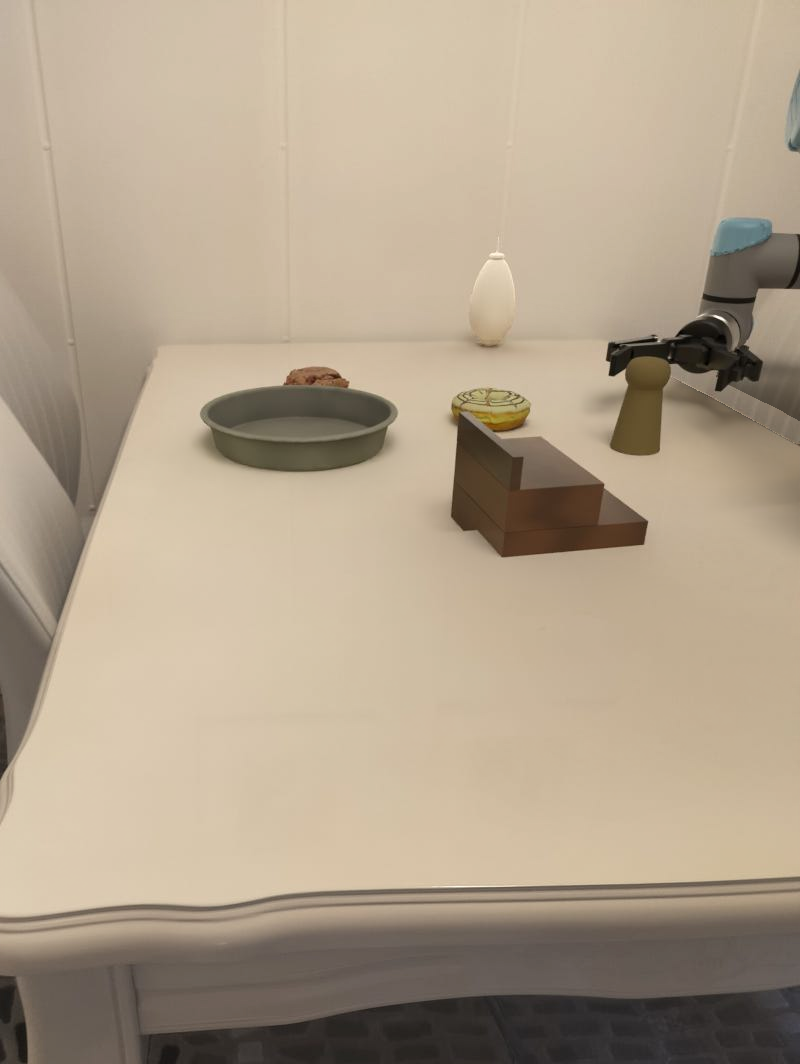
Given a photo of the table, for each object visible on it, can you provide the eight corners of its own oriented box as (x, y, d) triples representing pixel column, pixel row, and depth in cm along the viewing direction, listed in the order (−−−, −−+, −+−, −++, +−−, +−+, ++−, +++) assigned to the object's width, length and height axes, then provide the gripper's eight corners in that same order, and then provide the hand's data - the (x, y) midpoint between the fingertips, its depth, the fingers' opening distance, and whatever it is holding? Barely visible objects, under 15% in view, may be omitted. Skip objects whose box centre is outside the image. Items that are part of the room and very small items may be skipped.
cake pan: (407, 421, 125) (409, 388, 122) (380, 483, 104) (382, 444, 102) (234, 410, 129) (232, 378, 127) (174, 468, 108) (171, 430, 106)
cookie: (334, 379, 145) (334, 359, 143) (357, 396, 136) (357, 375, 134) (273, 383, 142) (273, 364, 140) (293, 401, 133) (292, 381, 132)
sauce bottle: (458, 344, 166) (466, 236, 157) (485, 338, 171) (494, 233, 162) (492, 352, 161) (502, 241, 152) (519, 345, 166) (531, 237, 157)
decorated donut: (530, 413, 128) (533, 386, 126) (526, 436, 119) (530, 407, 117) (455, 408, 130) (457, 381, 128) (446, 430, 121) (448, 401, 119)
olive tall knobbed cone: (602, 449, 115) (617, 359, 109) (619, 437, 119) (633, 350, 113) (651, 458, 112) (668, 366, 106) (666, 445, 116) (683, 356, 110)
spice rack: (575, 506, 98) (590, 404, 92) (641, 560, 86) (663, 447, 81) (450, 516, 95) (458, 411, 90) (500, 573, 84) (513, 457, 78)
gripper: (791, 380, 129) (761, 417, 114) (616, 357, 141) (567, 388, 126) (805, 325, 125) (776, 355, 110) (624, 306, 137) (575, 331, 122)
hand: (664, 373), depth 118 cm, fingers open, 13 cm apart
